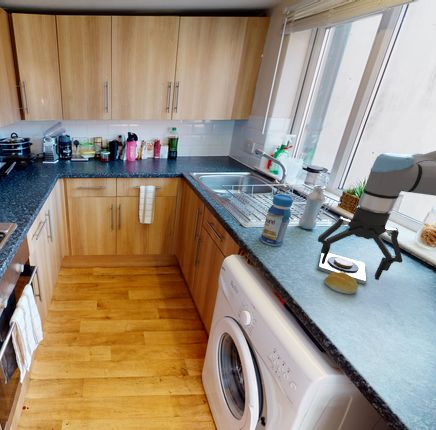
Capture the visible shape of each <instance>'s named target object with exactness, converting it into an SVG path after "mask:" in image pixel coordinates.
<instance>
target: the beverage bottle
mask: <svg viewBox="0 0 436 430" xmlns="http://www.w3.org/2000/svg"><path fill="white" fill-rule="evenodd" d="M272 198H273V199H272V205H271V206H269V208H268V209H267V214H266V215H265V220H264V224H263V229H262V233H261V235H260V240H261V242H263V243H264V244H266V245H269V246H273V247H279V246H281V245H282V244H283V243H284V238H285V235H286V232H287V229H288V226H289V224H290V221H291V219H290V217H292V210H291V207H292V206H293V203H294V198H293V196H291V195H288V194H284V193H276V194H274V196H273V197H272Z"/></svg>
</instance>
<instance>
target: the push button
mask: <svg viewBox="0 0 436 430" xmlns="http://www.w3.org/2000/svg"><path fill="white" fill-rule="evenodd" d="M323 256H324V254H322V253H321V252H320V258H319V261H318V262H319V263H318V268H317V271H321V272H323V273H327V274H328V275H329V274H330V273H333V272H343V273H346V274H348V275H350V276H352V277H353V278H354V279H355V280H356V282H357V284H360V285H365V284H366V282H367V273H366V263H365V262H363V261H358V260H355V259H351V258H348V257H344V256H340V255H337V254H334V253H331V252H328V255H327V258H326V260H325V263H324V264H321V262H322V258H323Z"/></svg>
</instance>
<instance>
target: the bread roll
mask: <svg viewBox="0 0 436 430" xmlns="http://www.w3.org/2000/svg"><path fill="white" fill-rule="evenodd" d="M324 283H325V284H326V285H327V286H328V287H329V288H330V289H331V290H333V291H334V292H337V293H340V294H349V295H350V294H354V293H356V292H357V291H358V288H359V283H358V282H356V280H355V279H354V278H353V277H352V276H350V275H348V274H346V273H343V272H333V273H330V274H329V273H328V275H327V277H325V278H324Z"/></svg>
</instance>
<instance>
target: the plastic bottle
mask: <svg viewBox="0 0 436 430" xmlns="http://www.w3.org/2000/svg"><path fill="white" fill-rule="evenodd" d="M325 189H326V187H325V186H323V185H319V184H317V185H314V187H313V191H311V192H309V194H308V195H307V196H306V202H305V205H304V206H305V207H304V209H303V210H304V211H303V212H302V214H301V216H300V218H299V219H298V226H299V227H300V228H302V229H305V230H313V229H315V227H316V226H317V221H318V217H319V213H320V211H321V208H322V207H323V204H324V203H325V201H326V197H325V194H324V192H325Z"/></svg>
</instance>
